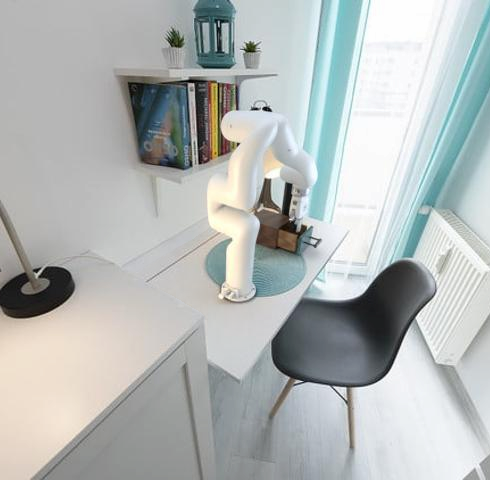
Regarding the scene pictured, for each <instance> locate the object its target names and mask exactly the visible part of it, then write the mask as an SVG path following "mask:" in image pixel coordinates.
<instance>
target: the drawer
mask: <svg viewBox="0 0 490 480" xmlns="http://www.w3.org/2000/svg"><path fill="white" fill-rule="evenodd" d="M289 228H290V221H288V222H287V223H286V224H285V225H284V226H282V227H281V228H280V229H279V230H278V237H277V245H276V246H278V248H282V249H284V250H287V251H290V252H293V253H295V252H296V256H300V255H301V254H302V253H303V252H304V251H305V249H306V248H307V247H308V246H311V247H313V249H317V248H318V246H320V244H321V243H322V241H323V239H322V238H316V237H314V236H313V232H314V225H310V226H309V227H308V224H303V223H302V224H301V229H300V231H299V232H292V231H290V230H289ZM312 240H315V241H316V242H315V243H311V242H312Z"/></svg>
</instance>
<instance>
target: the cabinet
mask: <svg viewBox="0 0 490 480" xmlns="http://www.w3.org/2000/svg"><path fill="white" fill-rule="evenodd" d="M254 215H255V216H256V217H257V218H258V220H259V222H260V228H259V232H258V235H257V239H256V244H259V245H262V246H265V247H267V248H269V249H273V250H277V248H279V246H276V245H277V237H278V230H279V229H280V228H281V227H282V226H284V225H285V224H286V223H287V222H288V221H289V219H290V217H289V216H285V215H282V214H281V213H279V212H275V211H271V210H268V209H264V208H262V209H260V210H259V211H257V212H256V213H254Z"/></svg>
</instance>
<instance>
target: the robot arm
mask: <svg viewBox="0 0 490 480" xmlns="http://www.w3.org/2000/svg"><path fill="white" fill-rule="evenodd" d="M220 131H221V134H222V136H223V137H224V138H225V139H226V140H227V141H230V142H233V143H238V144H239V145H238V146H237V147H236V148H235V149H234V150H233V151H232V153H231V155H230V157H229V159H228V168H227V169H228V170H227V172H225V171H220V172H216V173H214V174H213V175H212V176H211V177H210V179H209V180H208V183H207V187H206V203H207V218H208V224H209V226H210V228H211V229H213V230H214V231H216V232H217V233H220V234H223V235H225V236H227V237H230V238H231V239H232V240H231V241H230V243H228V244H227V246H226V250H225V251H226V253H225V255H226V256H225V258H226V259H225V281H224V282H223V283H222V284H221V286H220V287H221V290H220V291H221V292H220V293H219V294H218V298H219V299H220V300H223V299H224V298H226V299H227V300H230V301H233V302H239V303H240V302H241V303H242V302H246V301H249V300H251V299H252V298H253V297H255V296H256V293H257V291H256V290H257V288H256V285H255V284H254V282H253V276H254V263H255V253H256V252H255V251H256V244H257V243H256V239H257V235H258V232H259V228H260V222H259V220H258V218H257V217H256V216H255V214H253V213H251V212H249V211H248V210H251V209H252V208H254V206H255V204H256V201H257V191H258V172H259V164H260V162H261V159H262V158H263V156H264V155H265V153H266V151H267V150H268V149H270V151H271V153H272V155H273V158H274V159H275V160H276V161H278V162H279V163H281V164H282V166H281V167H280V170H279V178H280V179H281V181H282V182H284V183H285V182H287V183H291V184H293V186H292V194H293V196H292V200H291V205H290V211H289V216H290V219H289V221H290V228H289V230H290V231H292V232H296V230H297V220H298V219H300V218H302V220H303V218H304V216H305V215H306V214H307V213H308V209H309V202H310V201H309V200H310V195H311V190H312V189H311V188H312V187H314V185H316V183H317V181H318V176H319V175H318V174H319V173H318V168H317V165H316V162H315V159H314V158H313V157H312V156H311V155H310V154H309V153H308V152H306V151H305V150H304V149H303V148H302V147H301V146H299V145H298V144H297V141H296V138H295V135H294V133H293V130H292V126H291V124H290V120H289V119H288V117H287V116H285V114H282V113H280V112H272V111H264V110H230V111H228V112H227V113H225V114H224V116H223V117H222V119H221V122H220ZM295 216H296V217H295ZM294 218H295V219H296V220H294ZM301 224H303V221H302V222H301Z"/></svg>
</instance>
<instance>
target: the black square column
mask: <svg viewBox="0 0 490 480" xmlns="http://www.w3.org/2000/svg"><path fill="white" fill-rule="evenodd" d="M292 186H293V184H291V183H287V182H285V181H284V189H283V196H282V205H281V213H280V214H282V215H285V216H289V211H290V205H291V200H292V196H293V194H292ZM289 217H290V216H289Z"/></svg>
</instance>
